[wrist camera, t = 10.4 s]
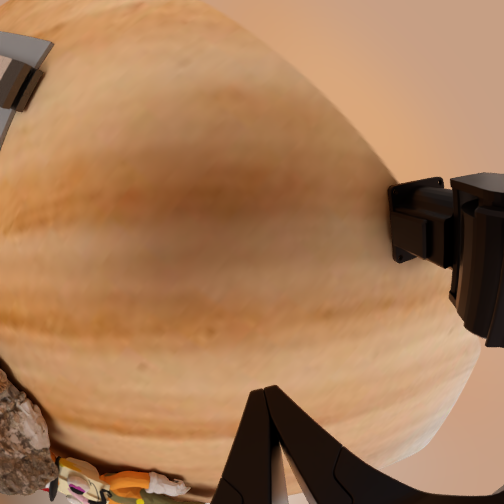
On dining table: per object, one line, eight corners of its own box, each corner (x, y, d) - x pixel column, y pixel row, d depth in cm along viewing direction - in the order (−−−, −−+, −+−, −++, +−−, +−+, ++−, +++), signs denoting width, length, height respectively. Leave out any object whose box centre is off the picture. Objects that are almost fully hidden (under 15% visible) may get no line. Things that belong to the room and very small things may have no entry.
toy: (198, 551, 21) (19, 503, 11) (186, 514, 31) (30, 465, 21) (243, 512, 23) (12, 448, 13) (223, 469, 32) (33, 405, 22)
